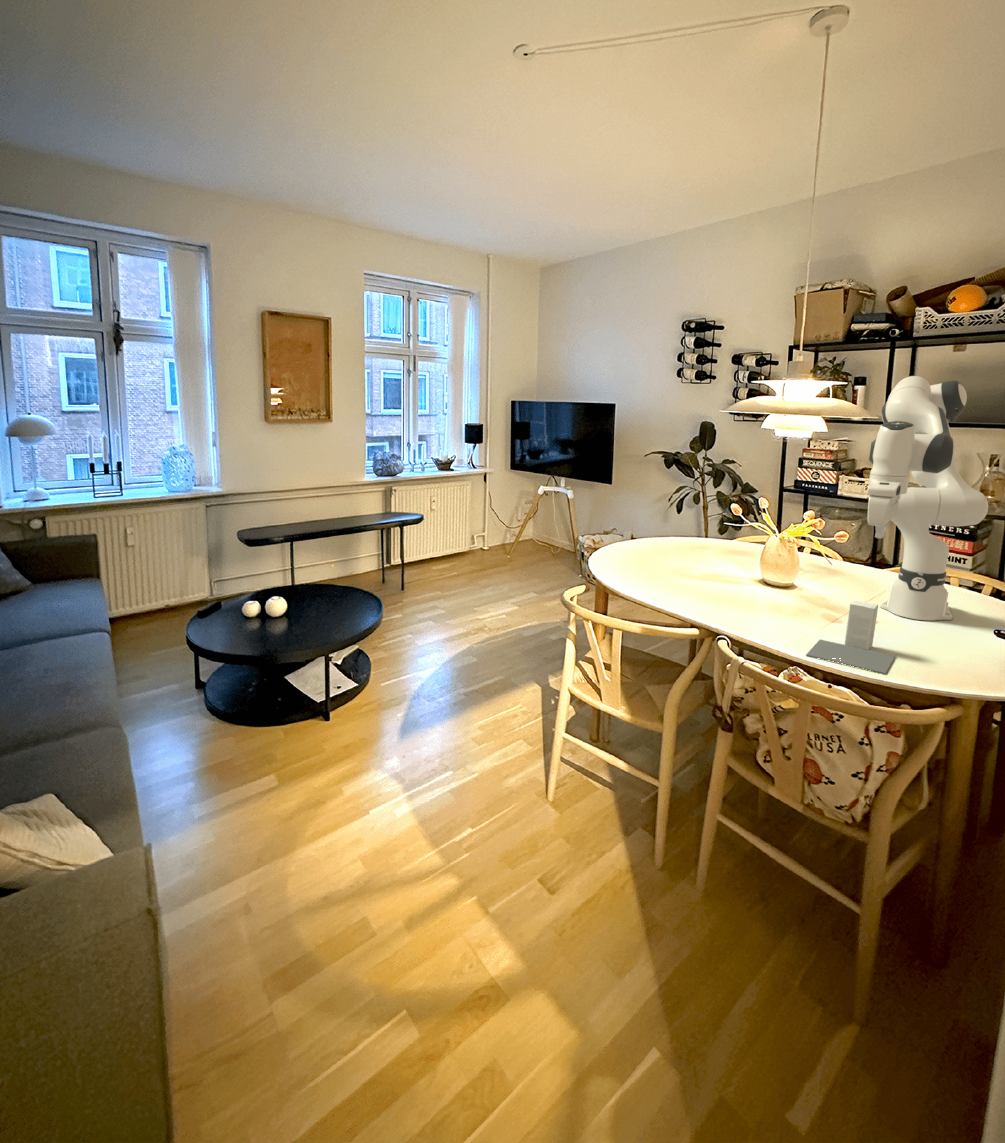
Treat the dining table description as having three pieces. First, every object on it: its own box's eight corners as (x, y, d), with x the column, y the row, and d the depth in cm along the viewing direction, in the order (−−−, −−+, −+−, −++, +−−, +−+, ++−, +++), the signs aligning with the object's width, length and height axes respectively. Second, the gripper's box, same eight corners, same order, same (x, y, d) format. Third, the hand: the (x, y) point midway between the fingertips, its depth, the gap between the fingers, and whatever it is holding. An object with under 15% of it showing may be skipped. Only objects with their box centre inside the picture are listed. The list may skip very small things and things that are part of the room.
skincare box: (872, 646, 168) (879, 604, 164) (868, 651, 165) (875, 608, 161) (847, 641, 172) (854, 599, 168) (843, 645, 168) (849, 603, 165)
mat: (819, 640, 172) (819, 639, 172) (894, 657, 161) (895, 655, 160) (806, 656, 162) (806, 654, 162) (885, 674, 151) (885, 673, 151)
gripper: (881, 480, 171) (874, 529, 175) (866, 489, 156) (858, 542, 160) (908, 482, 167) (900, 532, 171) (895, 491, 152) (886, 545, 156)
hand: (879, 537), depth 165 cm, fingers closed
